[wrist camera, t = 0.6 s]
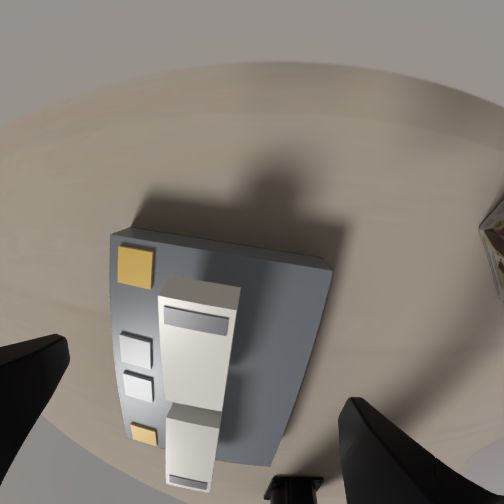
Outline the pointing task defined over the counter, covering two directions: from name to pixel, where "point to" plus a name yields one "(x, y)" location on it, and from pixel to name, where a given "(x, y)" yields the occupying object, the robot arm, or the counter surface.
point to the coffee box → (495, 245)
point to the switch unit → (244, 341)
